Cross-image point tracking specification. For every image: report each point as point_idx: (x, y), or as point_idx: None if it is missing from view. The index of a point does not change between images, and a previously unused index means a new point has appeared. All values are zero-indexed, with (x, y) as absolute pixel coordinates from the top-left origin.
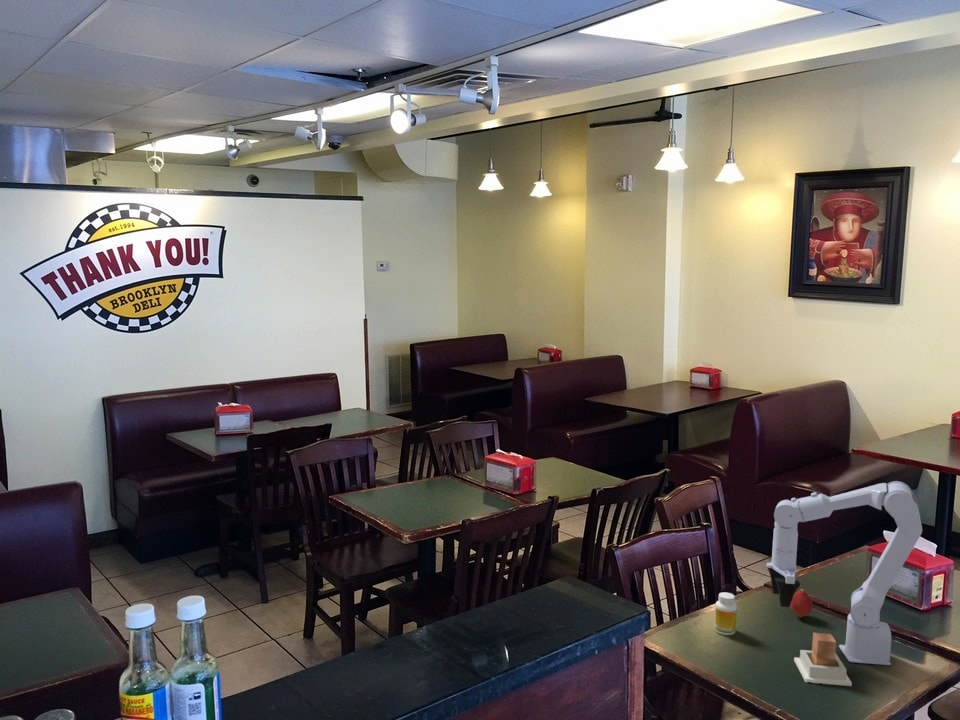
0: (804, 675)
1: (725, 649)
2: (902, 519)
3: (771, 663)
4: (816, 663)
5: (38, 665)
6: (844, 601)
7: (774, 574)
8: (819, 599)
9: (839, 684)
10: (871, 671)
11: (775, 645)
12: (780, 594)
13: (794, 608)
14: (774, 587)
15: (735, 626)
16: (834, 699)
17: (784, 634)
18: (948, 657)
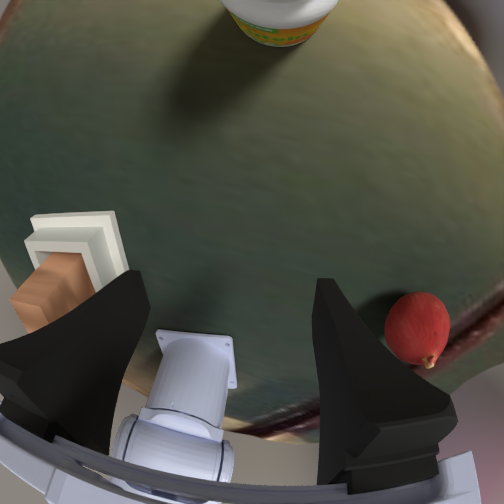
0: (40, 219)
1: (127, 11)
2: None
3: (78, 145)
4: (45, 260)
5: None
6: (445, 379)
7: (340, 397)
8: (468, 347)
9: None
10: (138, 347)
11: (193, 175)
12: (69, 313)
13: (404, 303)
14: (324, 310)
15: (258, 38)
16: (14, 250)
17: (287, 224)
18: (237, 432)
